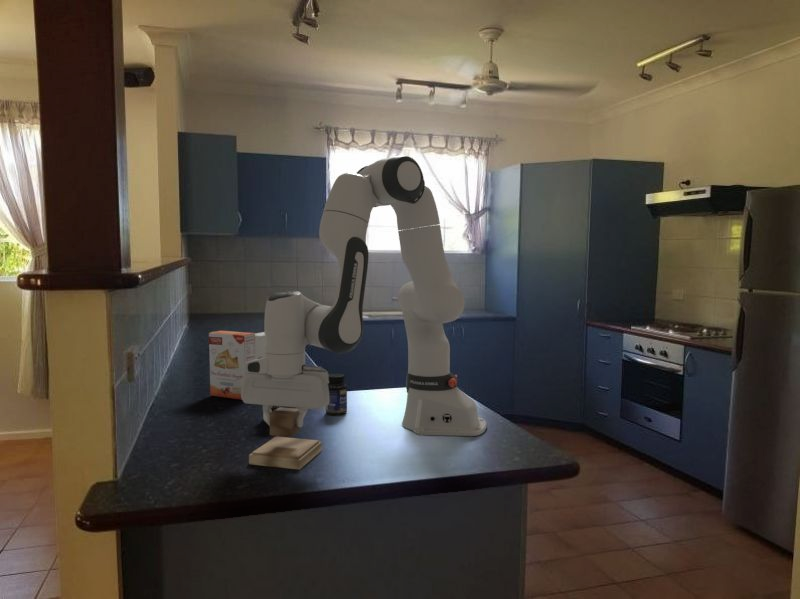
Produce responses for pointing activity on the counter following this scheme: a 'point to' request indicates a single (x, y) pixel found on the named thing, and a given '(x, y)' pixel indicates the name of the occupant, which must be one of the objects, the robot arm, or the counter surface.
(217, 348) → the cracker box
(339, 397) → the pill bottle
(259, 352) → the skincare box
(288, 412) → the cube
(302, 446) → the square wooden base
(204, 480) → the counter surface
